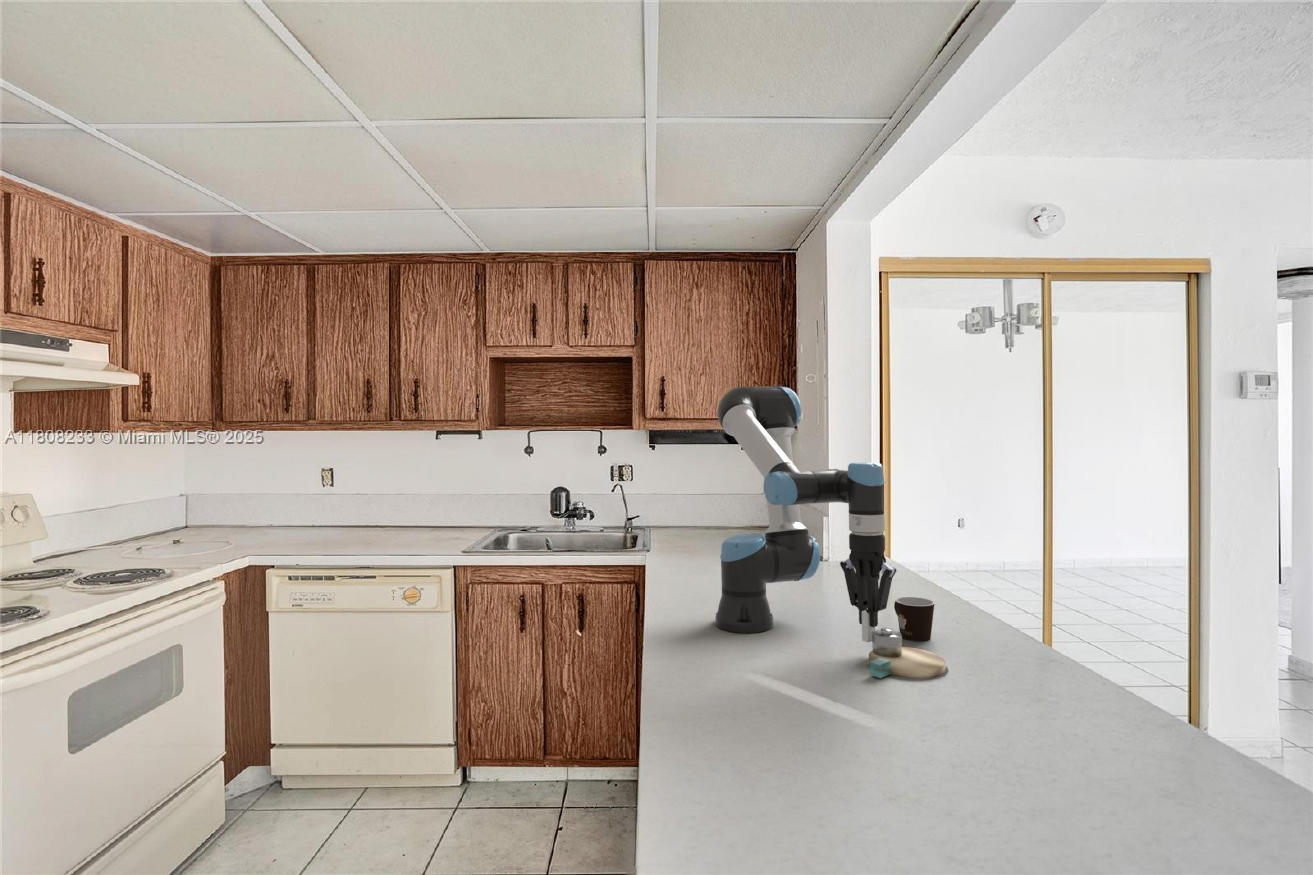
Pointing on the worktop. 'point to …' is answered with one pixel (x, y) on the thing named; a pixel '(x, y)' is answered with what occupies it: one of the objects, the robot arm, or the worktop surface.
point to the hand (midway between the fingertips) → (868, 640)
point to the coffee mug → (914, 618)
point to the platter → (908, 664)
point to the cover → (886, 643)
